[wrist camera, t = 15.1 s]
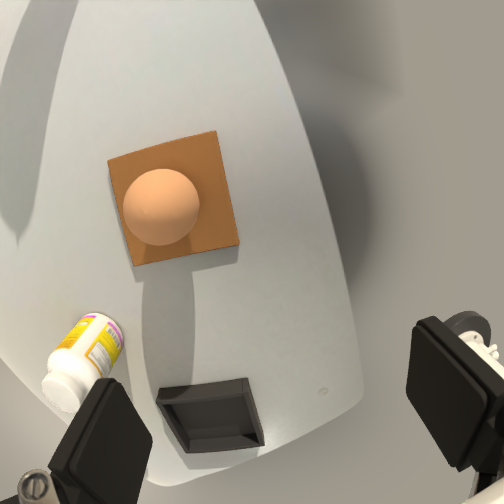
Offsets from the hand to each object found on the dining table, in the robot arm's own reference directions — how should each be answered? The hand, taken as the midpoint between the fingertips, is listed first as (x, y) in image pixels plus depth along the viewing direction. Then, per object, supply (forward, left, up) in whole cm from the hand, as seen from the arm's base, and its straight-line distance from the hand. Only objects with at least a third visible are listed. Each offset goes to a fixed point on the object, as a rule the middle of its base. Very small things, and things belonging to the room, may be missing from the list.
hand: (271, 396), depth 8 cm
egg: (+7, -5, -24) cm, 25 cm away
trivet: (+7, -5, -24) cm, 26 cm away
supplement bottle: (+21, +9, -24) cm, 33 cm away
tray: (+10, +25, -24) cm, 36 cm away
